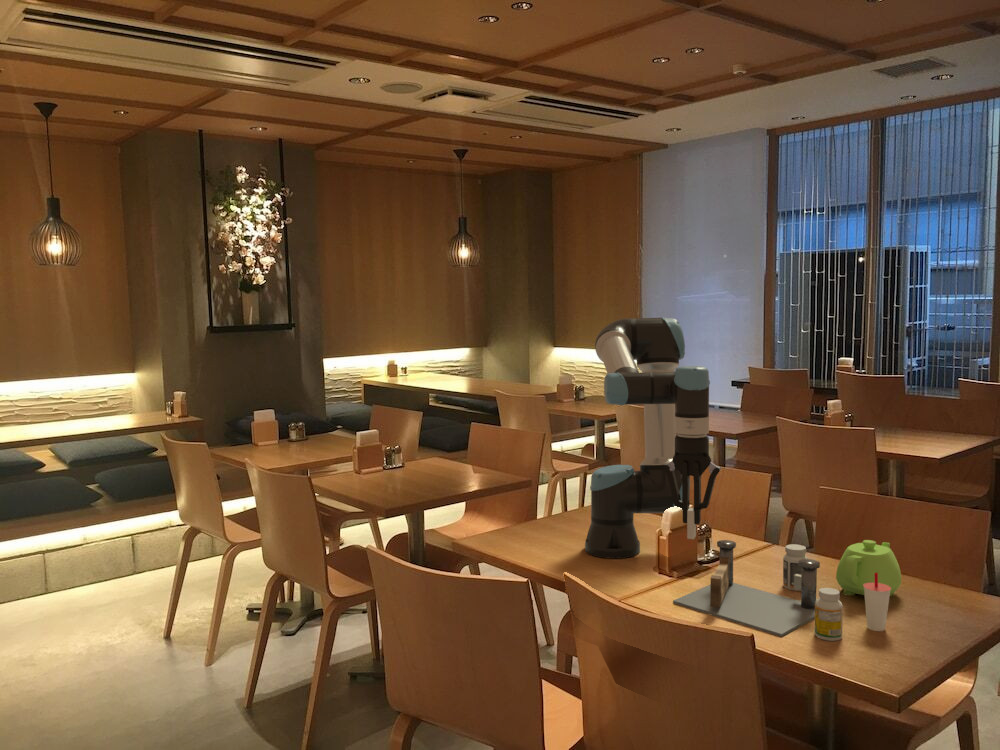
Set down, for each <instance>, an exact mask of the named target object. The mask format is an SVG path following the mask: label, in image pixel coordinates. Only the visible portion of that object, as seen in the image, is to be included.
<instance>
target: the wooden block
mask: <svg viewBox="0 0 1000 750" xmlns="http://www.w3.org/2000/svg"><path fill="white" fill-rule="evenodd" d="M719 560H720V563H718V566H717V568H716V570H715V572H714V574H713V575H712V574H711V575H710V576H711V577H710V584H709V585H710V607H718V608H720V605H721V603H722V601H723V598H724V596H725V593H726V591H727V588H728V586H729V558H728V557H720V556H719Z"/></svg>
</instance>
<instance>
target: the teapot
mask: <svg viewBox="0 0 1000 750" xmlns="http://www.w3.org/2000/svg"><path fill="white" fill-rule="evenodd" d="M890 545H891V542H887V541H885V542H882V543H881V545H880V544H877V541H875V540H872V539H871V540H870V539H864V540H862V542H857V543H853V544H851V545H849V546H848V547H847V548H846V549H845V550H844V552H843V554H842V556H841V558H840V560H839V562H838V565H837V569H836V575H835V579H836V581H837V583H838V585H839V586H840V588H841V589H842V590H844V591H843V593H844V594H843V593H842V594H843V595H845V594H846V595H845V596H849V595H852V596H855V595H856V594H858V595H862V596H865V595H864V586H863V584H865V583H875V573H878V583H881V584H885V585H888V586H890V587H891V590H890V597H892V596H893V595H894V593H895V592H897V590H898V589H899V587H900V586H901V584H902V573H901V569H900V565H899V563H898V560H897V557H896V556H895V553H894V552H893V550H892V548H891V546H890Z"/></svg>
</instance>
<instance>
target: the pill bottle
mask: <svg viewBox="0 0 1000 750" xmlns="http://www.w3.org/2000/svg"><path fill="white" fill-rule="evenodd" d="M784 551H785V553H786V554H784V556H783V557H782V561H783V562H782V564H783V565H782V570H783V571H782V576H783V577H782V584H783V585H782V586H783V587H784V588H786V589H787V590H791V591H797V592H799V591H800V592H801V590H800V589H796V588H794V575H795V574H799V575H801V567H800V566H799V560H801V559H809V558H808V557H807V556H806V553H807V548H806V546H804V545H801V544H796V543H795V544H794V543H793V544H791V543H790V544H787V545H786V546H785V550H784Z"/></svg>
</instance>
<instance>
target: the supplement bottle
mask: <svg viewBox="0 0 1000 750" xmlns="http://www.w3.org/2000/svg"><path fill="white" fill-rule="evenodd" d="M840 594H841V593H840V591H839V590H838V589H835V588H831V587H821V588H819V589H818V596H819V598H816V602H815V618H814V635H815V636H816V637H817V638H818V639H821V640H822V641H827V642H837V641H840V640H842V637H843V621H844V620H843V616H844V606H843V603H842V602H841V600H840V599H841V595H840Z"/></svg>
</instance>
